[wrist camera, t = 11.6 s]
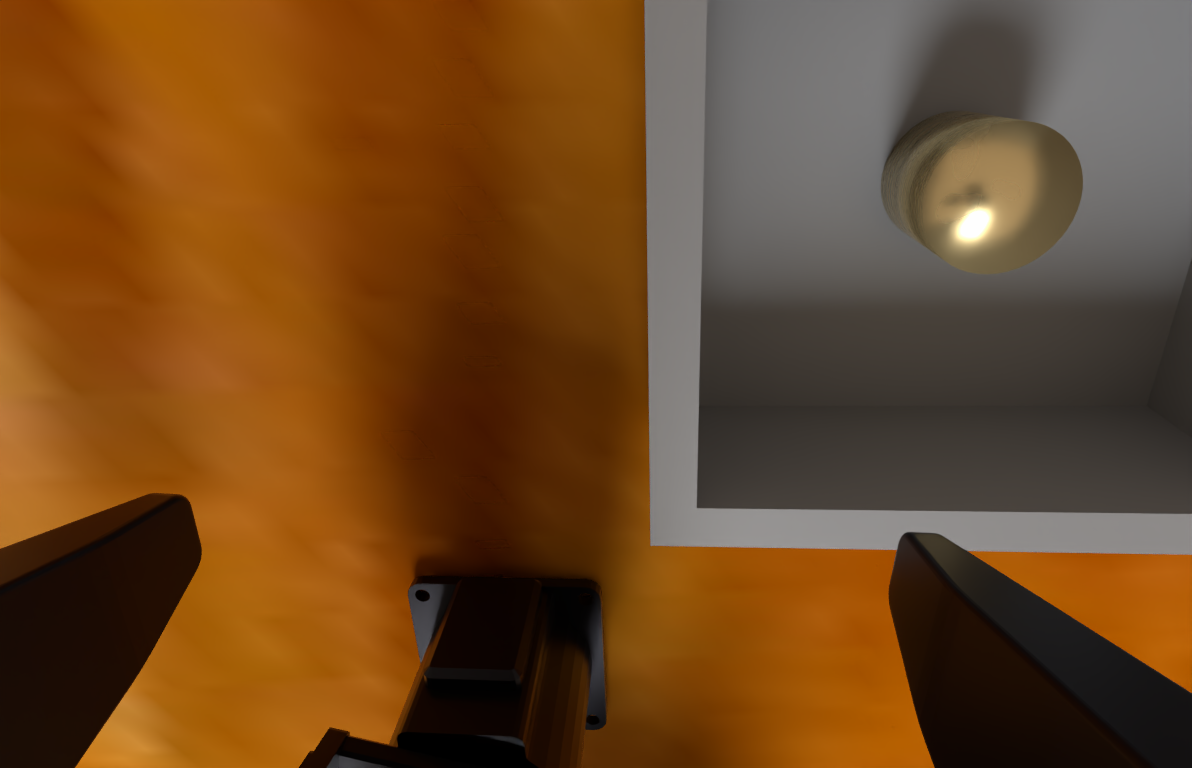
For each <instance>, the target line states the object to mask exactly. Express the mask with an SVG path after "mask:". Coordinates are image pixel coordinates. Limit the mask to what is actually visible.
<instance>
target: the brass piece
mask: <svg viewBox="0 0 1192 768" xmlns="http://www.w3.org/2000/svg"><path fill="white" fill-rule="evenodd" d="M1082 190H1083V174H1082V168H1081V164H1080V160H1079V158H1078V156H1077V154H1076V151H1075V150H1074V148H1073V147H1072V145H1071V144H1070V143H1069V142H1068V141H1067V139H1066V138H1065V137H1064V136H1062V135H1061V134H1060V133H1058V132H1057V131H1056V130H1054V129H1052V128H1050V127H1048V126H1045V125H1042V124H1039V123H1036V122H1030V121H1024V120H1018V119H1012V118H1006V117H999V116H993V115H987V114H981V113H975V112H969V111H949V112H944V113H940V114H937V115H934V116H931V117H929V118H927V119H925V120H923V121H921V122H920V123H918V124H917V125H915V126H914V127H912V128H911V129H910V130H909V131H908V132H906V133H905V135H904V136H903V137H902V138H901V139H900V140H899V141H898V142H897V144H896V145H895V146H894V148H893V149H892V151H891V153H890V154H889V156H888V159H887V161H886V163H885V166H884V169H883V173H882V178H881V197H882V202H883V205H884V208H885V211H886V213H887V215H888V216H889V218H890V219H891V221H892V222H893V223H894V224H895V225H896V226H897V227H898V228H899V229H900V230H901V231H903V232H904V233H906V234H907V235H909V236H910V237H911V238H913V239H914V240H916V241H917V242H919V243H920V244H921V245H923V246H924V247H926V248H927V249H928V250H930V251H931V252H933V253H934V254H936V255H937V256H938V257H940V258H941V259H943V260H944V261H946V262H947V263H949V264H950V265H952V266H954V267H956V268H958V269H960V270H963V271H966V272H970V273H976V274H998V273H1003V272H1008V271H1011V270H1014V269H1017V268H1020V267H1022V266H1024V265H1027V264H1029V263H1030V262H1032V261H1034V260H1036V259H1037V258H1039V257H1040V256H1042V255H1043V254H1044V253H1046V252H1047V251H1048V250H1049V249H1050V248H1051V247H1053V246H1054V245H1055V244H1056V243H1057V241H1058V240H1059V239H1060V238H1061V237H1062V236H1063V234H1064V233H1065V232H1066V230H1067V229H1068V228H1069V226H1070V224H1071V223H1072V221H1073V219H1074V217H1075V215H1076V212H1077V210H1078V207H1079V204H1080V201H1081V196H1082Z"/></svg>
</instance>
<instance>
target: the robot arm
mask: <svg viewBox="0 0 1192 768" xmlns="http://www.w3.org/2000/svg"><path fill="white" fill-rule="evenodd" d="M201 555H202V548H201V543H200V539H199V535H198V531H197V527H196V523H195V519H194V515H193V511H192V507H191V504H190V502H189V501H188V499H187V498H186V497H184V496H182V495H179V494H162V493H152V494H148V495H145V496H142V497H139V498H137V499H134V500H131V501H128V502H126V503H123V504H120V505H118V506H115V507H112V508H110V509H107V510H104V511H101V512H99V513H96V514H93V515H91V516H88V517H85V518H83V519H80V520H77V521H74V522H72V523H69V524H66V525H64V526H61V527H58V528H55V529H53V530H50V531H47V532H45V533H42V534H39V535H37V536H34V537H31V538H28V539H26V540H23V541H20V542H18V543H15V544H12V545H9V546H7V547H4V548H1V549H0V768H75V767H76V765H77V764H78V763H79V761H80V760H81V758H82V757H83V755H84V754H85V752H86V751H87V749H88V748H89V746H90V745H91V744H92V742H93V741H94V739H95V738H96V736H97V735H98V733H99V732H100V730H101V729H102V727H103V726H104V724H105V723H106V722H107V720H108V719H109V717H110V716H111V714H112V713H113V711H114V710H115V708H116V707H117V705H118V704H119V703H120V701H121V700H122V698H123V697H124V695H125V694H126V692H127V691H128V689H129V688H130V686H131V685H132V683H133V682H134V680H135V679H136V677H137V676H138V674H139V672H140V671H141V669H142V667H143V666H144V664H145V662H146V661H147V659H148V657H149V656H150V654H151V652H152V650H153V648H154V647H155V645H156V643H157V641H158V639H159V638H160V636H161V634H162V632H163V630H164V629H165V627H166V625H167V623H168V621H169V619H170V618H171V616H172V614H173V612H174V610H175V609H176V607H177V605H178V603H179V601H180V599H181V598H182V596H183V594H184V592H185V590H186V589H187V587H188V585H189V583H190V581H191V580H192V578H193V576H194V574H195V572H196V570H197V569H198V566H199V563H200V560H201ZM421 589H422V590H426V591H427V592H428V594H426V593H423V592H421V591H420V590H421ZM583 593H586V594H590V595H591V597H583V596H582V595H580V594H583ZM408 598H409V603H410V608H411V614H412V619H413V625H414V630H415V635H416V641H417V646H418V652H419V657H420V662H421V665H420V667H419V670H418V672H417V675H416V677H415V680H414V682H413V685H412V687H411V690H410V692H409V695H408V697H407V700H406V702H405V705H404V708H403V710H402V713H401V715H400V718H399V720H398V723H397V725H396V728H395V730H394V733H393V735H392V738H391V740H390V743H389V745H388V744H384V743H379V742H375V741H371V740H366V739H362V738H358V737H353V736H349V735H350V732H348V731H344V730H339V729H335V728H331V727H330V728H329V729H328V731H327V732H326V734H325V735H324V737H323V738H322V740H321V741H320V743H319V744H318V746H317V747H316V749H315V750H314V751H310V752H309V753H308V755H307V756H306V758H305V759H304V761H303V762H302V764H301V765H300V767H299V768H581V762H582V753H583V744H584V735H585V730H597V729H600V728H602V727H603V726H604V725H605V724H606V718H607V700H606V678H605V657H604V635H603V614H602V592H601V588H600V586H599V585H598V584H597V583H596V582H594V581H592V580H587V579H549V578H501V577H453V576H420V577H417V578H416V579H414V581H413V582H412V584H411V586H410V588H409V590H408ZM889 605H890V610H891V614H892V618H893V622H894V626H895V630H896V634H897V639H898V643H899V647H900V651H901V655H902V659H903V663H904V667H905V671H906V675H907V679H908V683H909V687H910V691H911V695H912V699H913V704H914V707H915V711H916V715H917V718H918V722H919V725H920V728H921V731H922V734H923V737H924V740H925V743H926V746H927V748H928V751H929V754H930V756H931V759H932V762H933V764H934V767H935V768H1192V693H1190V692H1189V691H1187V690H1186V689H1184V688H1183V687H1181V686H1179V685H1178V684H1176V683H1175V682H1173V681H1171V680H1170V679H1168V678H1167V677H1165V676H1164V675H1162V674H1160V673H1159V672H1157V671H1156V670H1154V669H1152V668H1151V667H1149V666H1148V665H1146V664H1145V663H1143V662H1141V661H1140V660H1138V659H1137V658H1135V657H1133V656H1132V655H1130V654H1129V653H1127V652H1126V651H1124V650H1122V649H1121V648H1119V647H1118V646H1116V645H1115V644H1113V643H1111V642H1110V641H1108V640H1107V639H1105V638H1103V637H1102V636H1100V635H1099V634H1097V633H1096V632H1094V631H1092V630H1091V629H1089V628H1088V627H1086V626H1084V625H1083V624H1081V623H1080V622H1078V621H1077V620H1075V619H1073V618H1072V617H1070V616H1069V615H1067V614H1065V613H1064V612H1062V611H1061V610H1059V609H1058V608H1056V607H1054V606H1053V605H1051V604H1050V603H1048V602H1046V601H1045V600H1043V599H1042V598H1040V597H1039V596H1037V595H1035V594H1034V593H1032V592H1031V591H1029V590H1028V589H1026V588H1024V587H1023V586H1021V585H1020V584H1018V583H1016V582H1015V581H1013V580H1012V579H1010V578H1009V577H1007V576H1005V575H1004V574H1002V573H1001V572H999V571H997V570H996V569H994V568H993V567H991V566H990V565H988V564H986V563H985V562H983V561H982V560H980V559H978V558H977V557H975V556H974V555H972V554H971V553H969V552H967V551H966V550H964V549H963V548H961V547H960V546H958V545H956V544H955V543H953V542H952V541H950V540H948V539H947V538H945V537H944V536H942V535H940V534H937V533H922V532H906V533H905V534H903V535H902V536H901V538H900V540H899V543H898V547H897V552H896V557H895V561H894V566H893V571H892V575H891V580H890V585H889ZM592 715H595V716H592Z"/></svg>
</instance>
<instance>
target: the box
mask: <svg viewBox="0 0 1192 768" xmlns="http://www.w3.org/2000/svg"><path fill="white" fill-rule="evenodd" d="M644 3H645V93H646V184H647V274H648V365H649V455H650V546H701V547H762V548H823V549H884V550H897V547H898V543H899V540H900V538H901V536H902V535H903V534H905V533H906V532H922V533H937V534H940V535H942V536H944V537H945V538H947V539H948V540H950V541H952V542H953V543H955V544H956V545H958V546H960V547H961V548H963V549H964V550H966V551H1006V552H1067V553H1128V554H1189V555H1192V0H644ZM949 111H969V112H975V113H981V114H987V115H993V116H999V117H1006V118H1012V119H1018V120H1024V121H1030V122H1036V123H1039V124H1042V125H1045V126H1048V127H1050V128H1052V129H1054V130H1056V131H1057V132H1058V133H1060V134H1061V135H1062V136H1064V137H1065V138H1066V139H1067V141H1068V142H1069V143H1070V144H1071V145H1072V147H1073V148H1074V150H1075V151H1076V154H1077V156H1078V158H1079V160H1080V164H1081V168H1082V174H1083V190H1082V196H1081V201H1080V204H1079V207H1078V210H1077V212H1076V215H1075V217H1074V219H1073V221H1072V223H1071V224H1070V226H1069V228H1068V229H1067V230H1066V232H1065V233H1064V234H1063V236H1062V237H1061V238H1060V239H1059V240H1058V241H1057V243H1056V244H1055V245H1054V246H1053V247H1051V248H1050V249H1049V250H1048V251H1047V252H1046V253H1044V254H1043V255H1042V256H1040V257H1039V258H1037V259H1036V260H1034V261H1032V262H1030V263H1029V264H1027V265H1024V266H1022V267H1020V268H1017V269H1014V270H1011V271H1008V272H1003V273H998V274H976V273H970V272H966V271H963V270H960V269H958V268H956V267H954V266H952V265H950V264H949V263H947V262H946V261H944V260H943V259H941V258H940V257H938V256H937V255H936V254H934V253H933V252H931V251H930V250H928V249H927V248H926V247H924V246H923V245H921V244H920V243H919V242H917V241H916V240H914V239H913V238H911V237H910V236H909V235H907V234H906V233H904V232H903V231H901V230H900V229H899V228H898V227H897V226H896V225H895V224H894V223H893V222H892V221H891V219H890V218H889V216H888V215H887V213H886V211H885V208H884V205H883V202H882V197H881V178H882V173H883V169H884V166H885V163H886V161H887V159H888V156H889V154H890V153H891V151H892V149H893V148H894V146H895V145H896V144H897V142H898V141H899V140H900V139H901V138H902V137H903V136H904V135H905V133H906V132H908V131H909V130H910V129H911V128H912V127H914V126H915V125H917V124H918V123H920V122H921V121H923V120H925V119H927V118H929V117H931V116H934V115H937V114H940V113H944V112H949Z"/></svg>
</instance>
